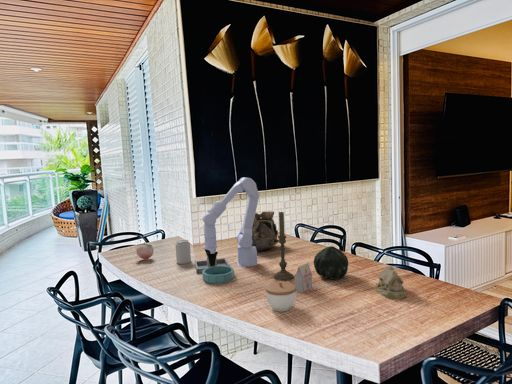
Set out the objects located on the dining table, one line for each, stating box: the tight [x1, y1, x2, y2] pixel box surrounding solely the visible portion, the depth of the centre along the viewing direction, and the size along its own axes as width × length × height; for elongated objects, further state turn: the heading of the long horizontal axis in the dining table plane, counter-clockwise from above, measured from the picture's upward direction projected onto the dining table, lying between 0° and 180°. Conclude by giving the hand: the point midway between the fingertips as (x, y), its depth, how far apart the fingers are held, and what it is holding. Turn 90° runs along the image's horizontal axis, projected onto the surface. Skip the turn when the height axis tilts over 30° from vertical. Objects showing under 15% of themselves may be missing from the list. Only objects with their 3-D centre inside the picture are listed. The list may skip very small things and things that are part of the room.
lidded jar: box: [265, 281, 297, 312], centre depth 127 cm, size 11×11×9 cm
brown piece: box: [251, 210, 279, 251], centre depth 211 cm, size 25×24×22 cm
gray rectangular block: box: [205, 254, 218, 268], centre depth 177 cm, size 4×4×6 cm
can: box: [175, 239, 192, 265], centre depth 188 cm, size 8×8×12 cm
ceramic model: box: [375, 265, 407, 300], centre depth 137 cm, size 14×11×10 cm
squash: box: [313, 245, 349, 281], centre depth 157 cm, size 14×15×15 cm
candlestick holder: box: [273, 210, 295, 281], centre depth 158 cm, size 9×9×30 cm
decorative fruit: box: [135, 241, 154, 260], centre depth 198 cm, size 9×8×10 cm
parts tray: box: [194, 257, 231, 274], centre depth 177 cm, size 16×14×2 cm
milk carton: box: [294, 262, 313, 294], centre depth 143 cm, size 4×7×10 cm, turn 138°
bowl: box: [201, 266, 235, 285], centre depth 162 cm, size 14×14×4 cm
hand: (211, 264), depth 177 cm, fingers open, 5 cm apart
